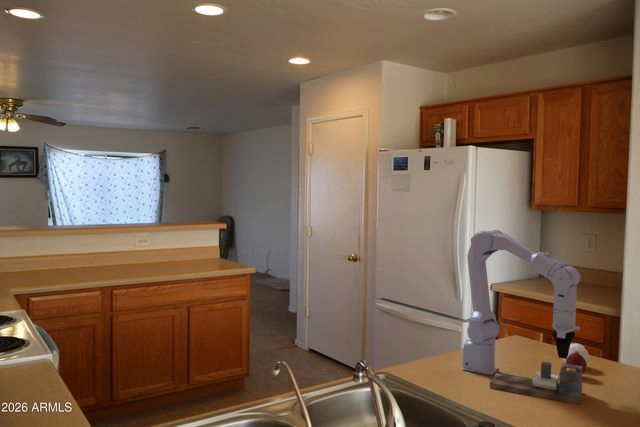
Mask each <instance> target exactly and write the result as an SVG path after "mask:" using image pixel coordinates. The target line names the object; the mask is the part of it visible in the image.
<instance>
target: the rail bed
mask: <svg viewBox="0 0 640 427" xmlns="http://www.w3.org/2000/svg"><path fill="white" fill-rule="evenodd" d="M568 367H570V368H575V369H576V372H574V371H568V370H566V368H568ZM558 376H559V380H558V384H557V390H552V389H547V388H541V387H536V386H533V378H530V377H524V376H518V375H512V374H506V373H501V372H496V373H494V376H493V378H492V380H491V381H490V382H489V388H490V389H494V390H498V391H499V390H500V391H505V392H510V393H515V394H522V395H526V396H531V397H537V398H542V399H548V400H552V401H559V402H565V403H570V404H574V405H580V401H581V397H582V394H583V393H582V391H583V387H582V386H583V373H582V366H577V365H571V364H566V363H565V362H564V363H562V364H561V366H560V370H559V375H558Z"/></svg>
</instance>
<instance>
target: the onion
mask: <svg viewBox="0 0 640 427" xmlns="http://www.w3.org/2000/svg"><path fill="white" fill-rule="evenodd" d="M587 363H588V362H587ZM587 363H586V360H585V359H584V358H583V357H582V356H581V355H580V354H579V353H578V351H577V350H576V351H575V352H574V353H573V354H571V355H570V356H569V357H568V358H567V360H566V363H565V364H571V365H577V366H582V374H584V373H585V371H586V370H587V367H588V365H587Z"/></svg>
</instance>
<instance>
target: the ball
mask: <svg viewBox="0 0 640 427" xmlns="http://www.w3.org/2000/svg"><path fill="white" fill-rule="evenodd" d="M576 350H577V351H578V353H579V354H580V355H581V356H582V357H583V358H584V359H585V360H586V363H588V361H589V351H588V350H587V349H586V348H585V346H583V345H582V344H580V343H576V342H575V343H571V344H570V348H569V353H568V356H567V358H568V357H569V356H570V355H571V354H573V353H574V352H575V351H576ZM561 359H562V360H563V362H564V364H566V360H567V359H564V358H561Z"/></svg>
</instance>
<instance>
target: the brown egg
mask: <svg viewBox="0 0 640 427" xmlns="http://www.w3.org/2000/svg"><path fill="white" fill-rule="evenodd" d="M566 370H568V371H574V372H576V369H575V368H570V367H568V368H566Z"/></svg>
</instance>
